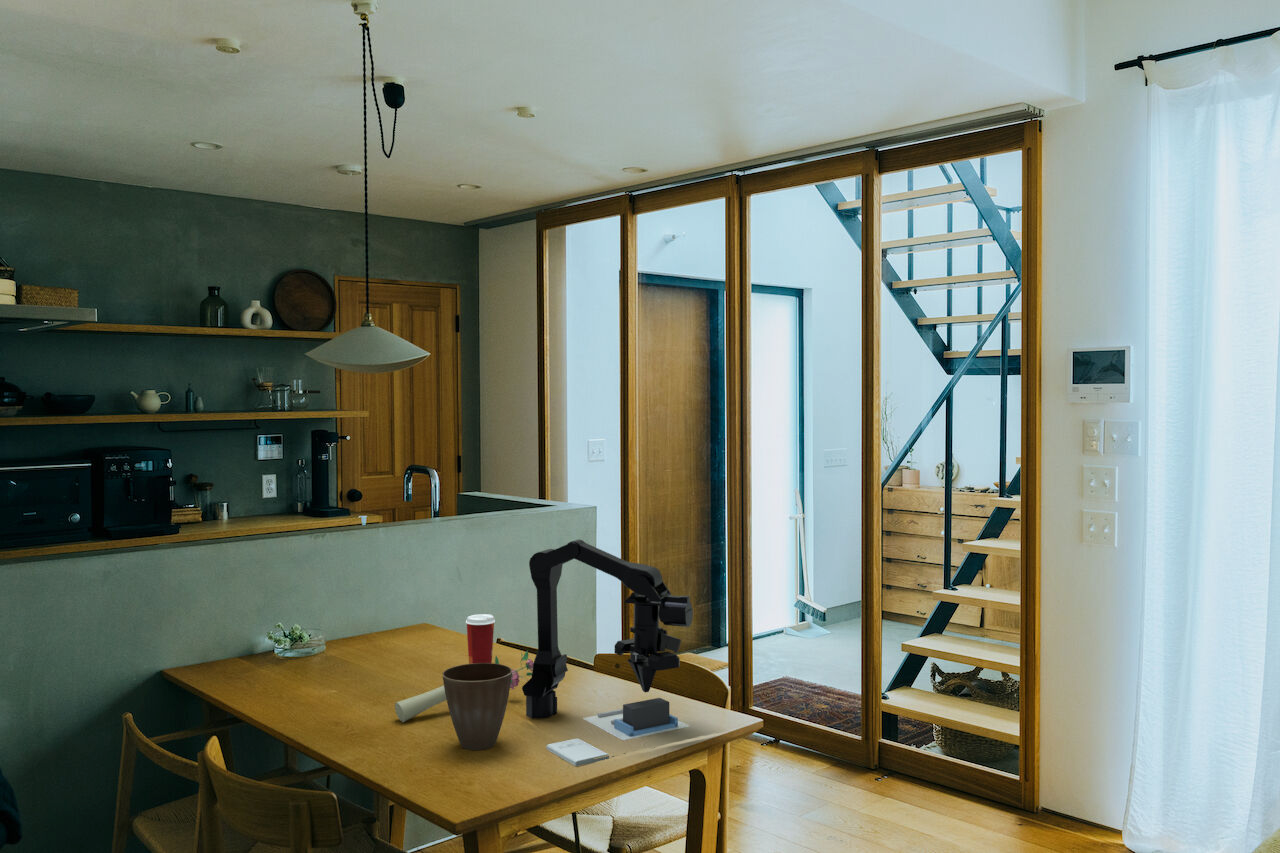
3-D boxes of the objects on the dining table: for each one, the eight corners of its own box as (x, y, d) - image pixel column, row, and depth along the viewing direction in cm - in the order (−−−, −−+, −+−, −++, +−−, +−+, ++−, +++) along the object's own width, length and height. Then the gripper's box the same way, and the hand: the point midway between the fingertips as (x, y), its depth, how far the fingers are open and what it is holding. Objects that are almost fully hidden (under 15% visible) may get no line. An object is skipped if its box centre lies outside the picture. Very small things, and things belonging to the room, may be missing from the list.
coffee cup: (501, 669, 275) (501, 615, 275) (481, 675, 268) (481, 621, 268) (478, 664, 280) (478, 612, 279) (458, 671, 273) (458, 617, 272)
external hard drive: (575, 769, 200) (546, 751, 211) (609, 761, 205) (579, 744, 215) (575, 761, 200) (546, 744, 211) (609, 753, 205) (579, 737, 215)
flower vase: (402, 748, 232) (527, 691, 253) (420, 747, 223) (548, 688, 243) (386, 700, 233) (512, 647, 254) (403, 697, 224) (532, 642, 244)
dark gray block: (632, 733, 218) (632, 709, 218) (622, 728, 222) (622, 704, 222) (669, 726, 224) (669, 702, 224) (659, 721, 227) (659, 697, 227)
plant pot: (450, 760, 203) (450, 684, 203) (435, 738, 217) (435, 666, 217) (520, 751, 209) (520, 676, 209) (501, 729, 223) (501, 660, 223)
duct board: (622, 743, 214) (622, 731, 214) (582, 721, 229) (582, 709, 229) (689, 729, 224) (690, 717, 224) (646, 709, 239) (646, 697, 239)
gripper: (699, 627, 219) (699, 696, 219) (653, 612, 234) (653, 677, 235) (658, 633, 213) (657, 704, 213) (613, 617, 228) (613, 684, 229)
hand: (646, 691), depth 222 cm, fingers closed
